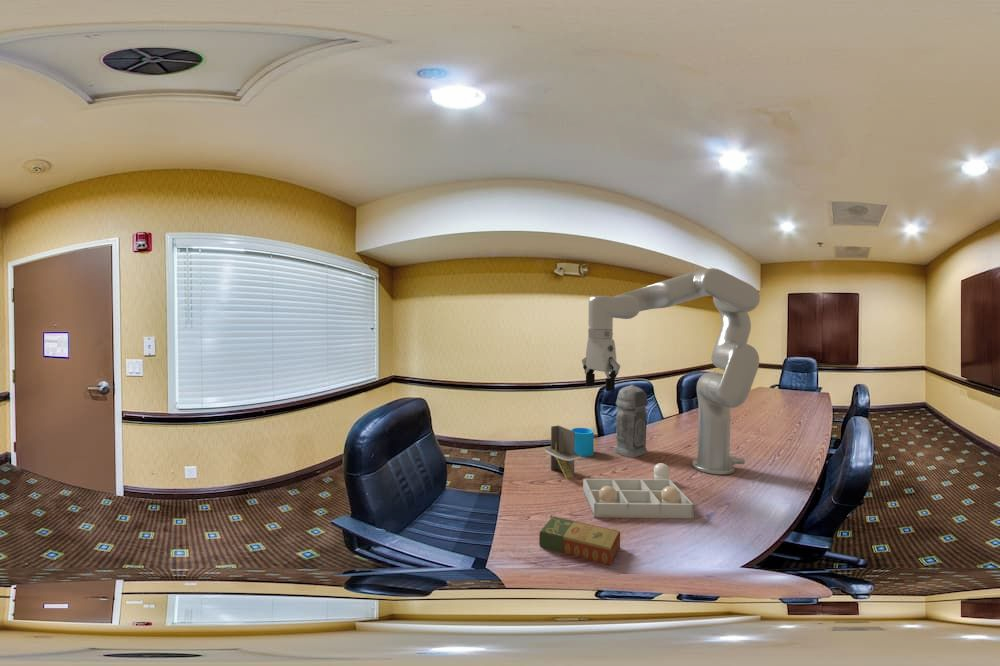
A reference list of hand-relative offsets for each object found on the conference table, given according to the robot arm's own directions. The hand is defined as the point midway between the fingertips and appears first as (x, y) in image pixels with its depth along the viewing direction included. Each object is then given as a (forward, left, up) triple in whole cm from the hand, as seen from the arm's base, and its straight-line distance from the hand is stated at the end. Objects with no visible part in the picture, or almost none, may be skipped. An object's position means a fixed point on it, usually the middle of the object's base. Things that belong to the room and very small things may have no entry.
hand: (599, 388), depth 145 cm
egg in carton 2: (-13, +28, -26) cm, 41 cm away
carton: (+14, +47, -28) cm, 56 cm away
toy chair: (+12, +3, -28) cm, 30 cm away
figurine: (-15, -19, -27) cm, 37 cm away
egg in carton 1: (+3, +28, -26) cm, 39 cm away
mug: (+4, -17, -27) cm, 33 cm away
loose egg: (-17, +9, -27) cm, 33 cm away
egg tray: (-5, +24, -27) cm, 36 cm away
